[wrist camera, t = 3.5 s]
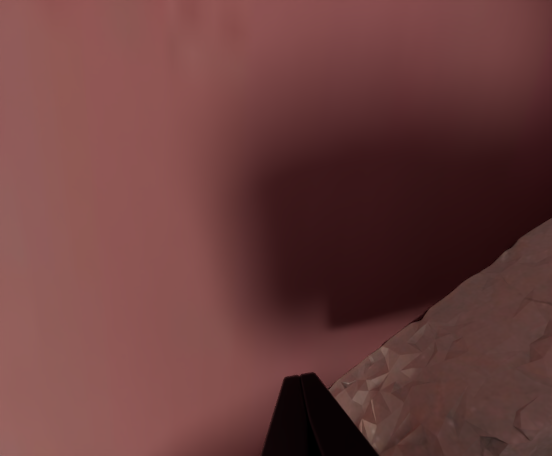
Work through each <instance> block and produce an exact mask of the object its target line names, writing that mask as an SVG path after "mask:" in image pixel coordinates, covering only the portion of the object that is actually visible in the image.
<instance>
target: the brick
mask: <svg viewBox="0 0 552 456" xmlns="http://www.w3.org/2000/svg"><path fill="white" fill-rule="evenodd" d="M329 391H330V393H331V394H332V395H333V397H334V398H335V399H336V400H337V402H338V403H339V404H340V406H341V407H342V408H343V409H344V411H345V412H346V413H347V415H348V416H349V417H350V418H351V420H352V421H353V422H354V424H355V425H356V426H357V427H358V429H359V430H360V431H361V433H362V434H363V435H364V436H365V438H366V439H367V440H368V442H369V443H370V444H371V445H372V447H373V448H374V449H375V451H376V452H377V453H378V454H379V456H552V218H551V219H549V220H547V221H546V222H544V223H542V224H541V225H539V226H538V227H536V228H534V229H533V230H531V231H530V232H528V233H527V234H525V235H524V236H522V237H521V238H519V239H518V241H517V242H516V243H515V245H514V246H513V247H512V248H510V249H508V250H506V251H505V252H504V253H503V254H502V255H501V256H500V257H499V258H498V259H497V260H496V261H495V262H494V263H493V264H492V265H490V266H489V267H487V268H485V269H484V270H482V271H481V272H480V273H478V274H476V275H473V276H472V277H470V278H468V279H467V280H465V281H464V282H463V283H462V284H460V285H459V286H458V287H457V288H456V289H455V290H453V291H452V292H451V293H450V294H449V295H447V296H446V297H445V298H443V299H442V300H440V301H439V302H438V303H436V304H435V305H434V306H432V307H431V308H430V309H429V310H428V311H427V313H426V314H425V316H424V317H423V319H422V320H421V321H417V322H413V323H411V324H409V325H408V326H406V327H405V328H404V329H402V330H401V331H400V332H398V333H397V334H396V335H395V336H393V337H392V338H391V339H389V340H388V341H387V342H386V343H385V344H384V345H383V346H382V347H380V348H379V349H378V350H376V351H375V352H373V353H372V354H370V355H369V356H368V357H366V358H365V359H364V360H363V361H362V362H360V363H359V364H358V365H357V366H355V367H354V368H353V369H351V370H350V371H349V372H347V373H346V374H345V375H343V376H342V377H341V378H339V379H338V380H337V381H336V382H335V383H334V384H333V386H332V387H331V388H330V389H329Z"/></svg>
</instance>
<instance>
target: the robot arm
mask: <svg viewBox="0 0 552 456" xmlns="http://www.w3.org/2000/svg"><path fill="white" fill-rule="evenodd" d="M260 456H379V454H378V453H377V452H376V451H375V449H374V448H373V447H372V445H371V444H370V443H369V442H368V440H367V439H366V438H365V436H364V435H363V434H362V433H361V431H360V430H359V429H358V427H357V426H356V425H355V424H354V422H353V421H352V420H351V418H350V417H349V416H348V415H347V413H346V412H345V411H344V409H343V408H342V407H341V406H340V404H339V403H338V402H337V400H336V399H335V398H334V397H333V395H332V394H331V393H330V391H329V390H328V389H327V388H326V386H325V385H324V384H323V382H322V381H321V380H320V379H319V377H318V376H317V375H316V374H315V373H314V372H311V373H305V374H301V375H300V376H299V375H293V376H287V377H285V378H284V380H283V383H282V386H281V390H280V393H279V396H278V400H277V403H276V406H275V409H274V413H273V416H272V419H271V422H270V426H269V429H268V432H267V435H266V439H265V442H264V445H263V449H262V452H261V455H260Z"/></svg>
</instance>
